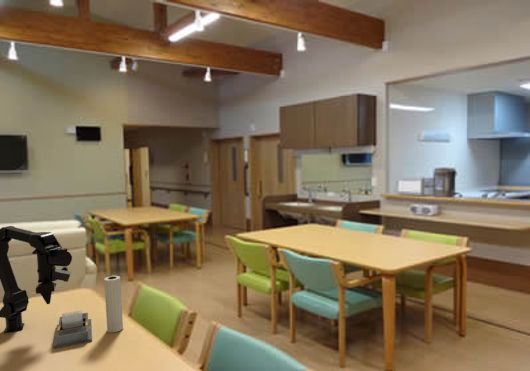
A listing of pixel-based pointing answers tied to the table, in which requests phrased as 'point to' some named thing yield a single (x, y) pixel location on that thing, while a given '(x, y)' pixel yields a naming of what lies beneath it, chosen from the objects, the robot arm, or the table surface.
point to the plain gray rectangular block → (72, 320)
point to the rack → (73, 333)
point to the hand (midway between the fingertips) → (48, 303)
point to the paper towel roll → (113, 303)
